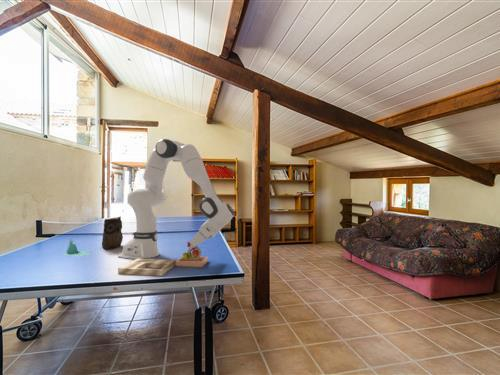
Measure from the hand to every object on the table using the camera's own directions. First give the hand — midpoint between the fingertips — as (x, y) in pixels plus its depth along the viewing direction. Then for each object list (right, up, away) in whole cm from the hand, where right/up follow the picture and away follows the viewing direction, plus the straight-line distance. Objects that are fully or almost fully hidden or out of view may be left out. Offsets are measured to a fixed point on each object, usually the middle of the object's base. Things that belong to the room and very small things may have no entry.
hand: (191, 247), depth 141 cm
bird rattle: (+1, -7, -1) cm, 7 cm away
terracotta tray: (+1, -9, 0) cm, 9 cm away
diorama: (-72, -8, +19) cm, 75 cm away
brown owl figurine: (-61, -8, +36) cm, 71 cm away
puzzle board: (-19, -9, -9) cm, 23 cm away
